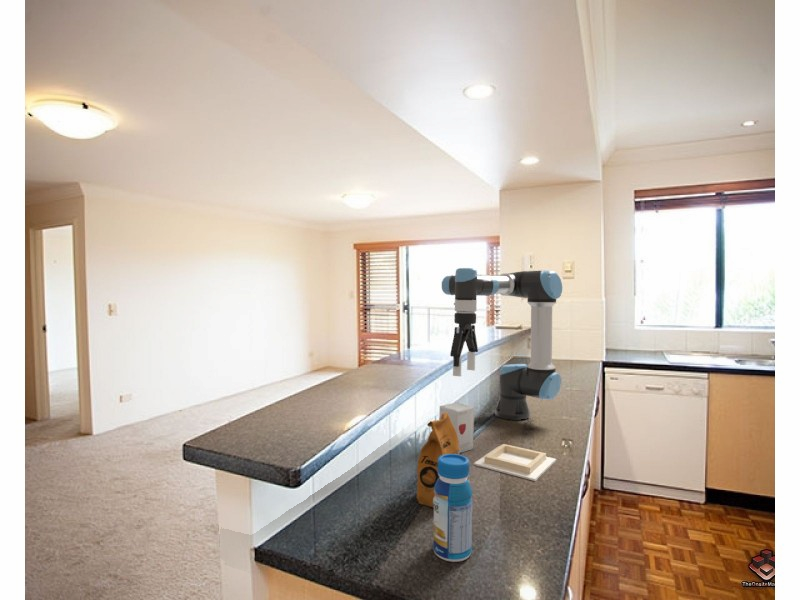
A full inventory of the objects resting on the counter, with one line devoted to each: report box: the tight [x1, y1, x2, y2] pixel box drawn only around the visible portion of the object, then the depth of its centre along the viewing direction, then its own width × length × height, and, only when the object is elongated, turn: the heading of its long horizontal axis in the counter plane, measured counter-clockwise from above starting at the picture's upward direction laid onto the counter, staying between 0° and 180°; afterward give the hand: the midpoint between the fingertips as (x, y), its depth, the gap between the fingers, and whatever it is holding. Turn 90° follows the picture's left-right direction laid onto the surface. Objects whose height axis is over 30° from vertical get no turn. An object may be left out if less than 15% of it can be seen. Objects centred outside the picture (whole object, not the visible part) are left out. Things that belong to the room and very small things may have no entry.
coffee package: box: [416, 413, 460, 509], centre depth 119 cm, size 10×12×22 cm
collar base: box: [473, 443, 557, 482], centre depth 145 cm, size 20×20×3 cm
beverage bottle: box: [432, 454, 474, 563], centre depth 95 cm, size 8×8×20 cm
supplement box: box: [438, 402, 475, 454], centre depth 158 cm, size 9×9×15 cm
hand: (464, 373), depth 156 cm, fingers open, 13 cm apart
